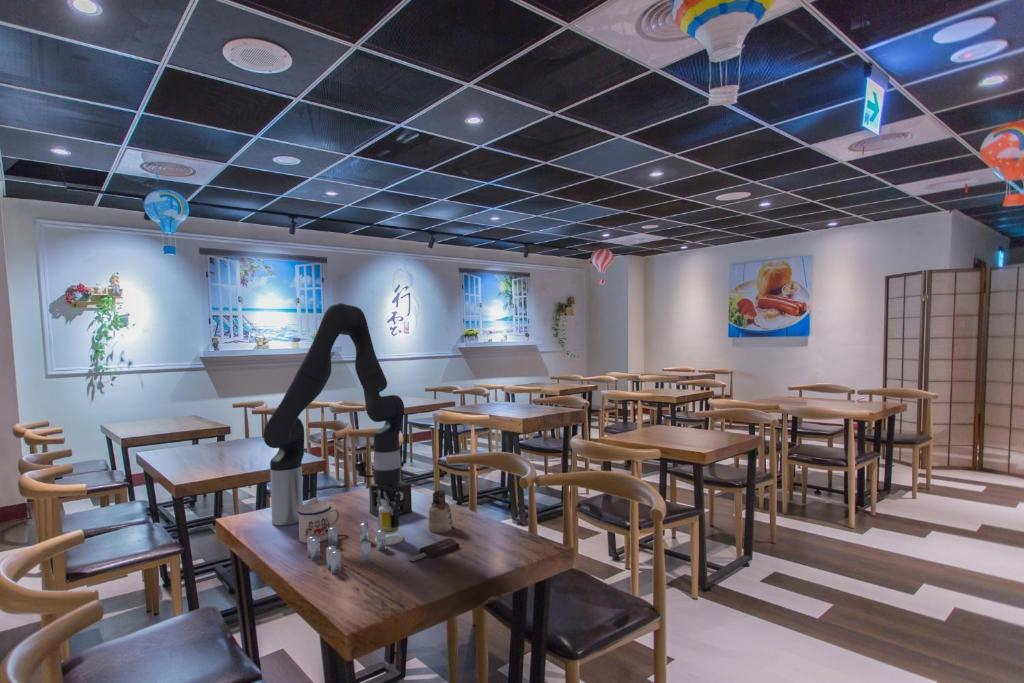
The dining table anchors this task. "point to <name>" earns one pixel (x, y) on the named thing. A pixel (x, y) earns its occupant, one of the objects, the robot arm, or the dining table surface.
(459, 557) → the dining table surface
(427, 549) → the ice cream bar
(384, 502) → the supplement bottle
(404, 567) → the dining table surface
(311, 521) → the teacup with lid
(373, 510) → the coffee grinder
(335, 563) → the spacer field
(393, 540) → the saucer
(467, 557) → the dining table surface
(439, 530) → the figurine
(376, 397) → the robot arm
